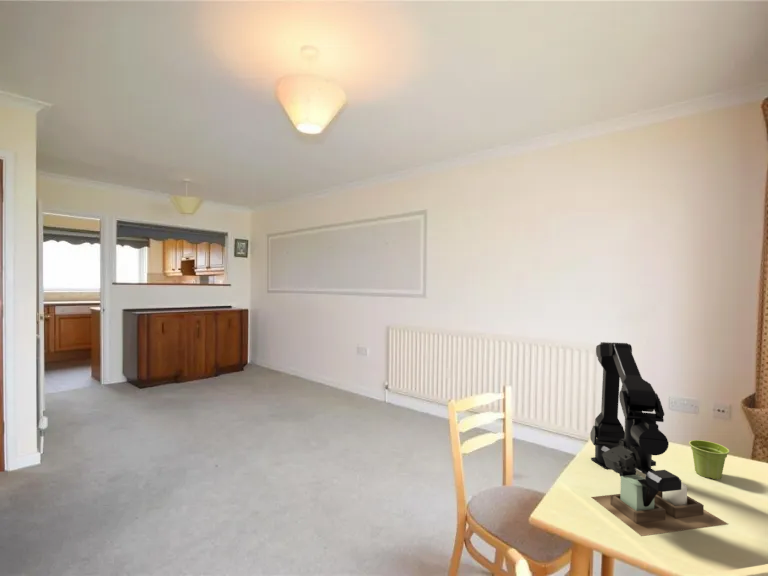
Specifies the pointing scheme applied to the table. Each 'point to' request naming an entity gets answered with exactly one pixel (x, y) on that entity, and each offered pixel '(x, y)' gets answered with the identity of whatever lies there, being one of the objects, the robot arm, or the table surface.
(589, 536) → the table surface
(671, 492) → the cream cylinder
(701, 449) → the plant pot
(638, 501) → the sage block
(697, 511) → the socket board
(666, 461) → the table surface
